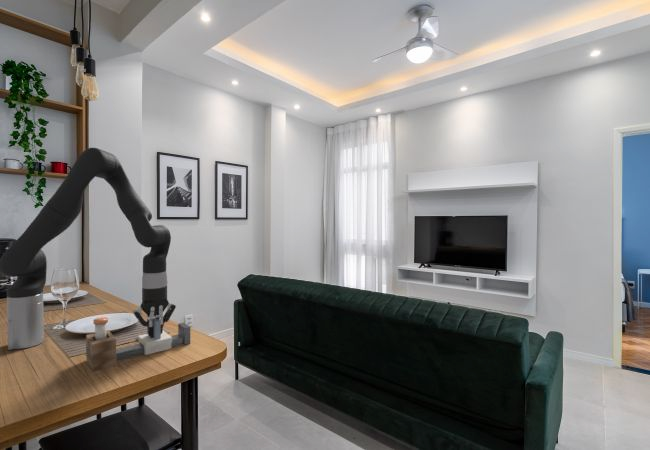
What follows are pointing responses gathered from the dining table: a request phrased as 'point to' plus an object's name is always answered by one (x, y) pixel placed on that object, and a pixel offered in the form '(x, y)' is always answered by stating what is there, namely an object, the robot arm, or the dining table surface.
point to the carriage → (155, 339)
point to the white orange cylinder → (100, 328)
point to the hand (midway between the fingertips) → (155, 335)
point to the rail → (138, 349)
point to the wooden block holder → (101, 351)
